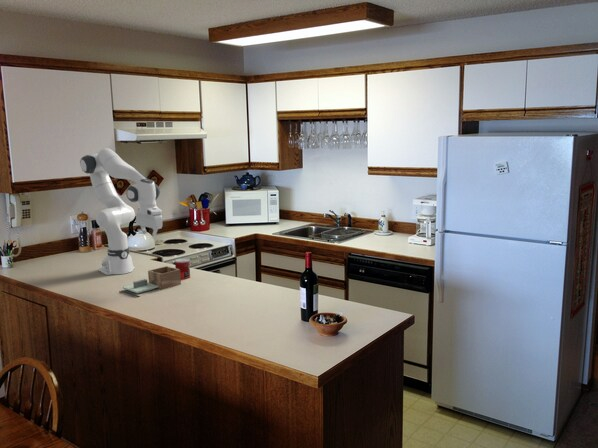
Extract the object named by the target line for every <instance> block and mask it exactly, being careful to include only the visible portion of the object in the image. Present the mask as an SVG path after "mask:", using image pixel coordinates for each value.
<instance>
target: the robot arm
mask: <svg viewBox="0 0 598 448" xmlns="http://www.w3.org/2000/svg"><path fill="white" fill-rule="evenodd" d="M79 163H80V168H81V170H82V172H84V173H85V174H89V177H90V182H91V185H92V188H93V191H94V193H95V195H96V197H97V200H98V202H99V203H101V204H102V205H105V206H106V207H107V208H104V209H102V210H100V211H98V212H97V213H96V215H95V222H96V224H97V226H99V227H100V228H101V229H103V231H104V232H105V235H106V237H107V238H106V239H107V242H108V243H107V244H108V245H107V246H108V249H106V251H107V255H106V256H105V257H104V259H103V260H102V261H101V266H102V267H99V268H98V271H99V272H101V274H104V275H106V276H108V275H109V276H111V275H125V274H129V273H131V272H133V271H134V270H135V266H134V264H133V259H132V255H130V247H129V239H128V235H127V233H126V232H124V231H122V228H121V225H126V224H128V223H130V222H132V221H134V219H135V223H136V225H138V226H140V229H141V232H142V234H143V235H146V234H148V232H147V229H146V228H149V229H152V233H151V236H152V237H155V238H156V237H157V234H158V230H160V229H162V228H163V216H162V214H163V210H162V209H161V208H159V206H157V199H158V198H159V196H160V193H161V191H160V187H159V186H158V184H156V182H155V181H154V180H152V179H149V178H148V177H146V176H145V175H144V174H143V173H142V172H141V171H139V170H138V169H137V168H135V166H132V165H130V164H129V163H127V162H126V161H125V160H124V159H122V157H120V156H119V154H118V153H117V151H114V150H113V149H111V148H109V147H105V148H102V149H100V150H99V151H97V152H95V153H90V154H86V155H84V156H82V157H81V158H80V160H79ZM111 177H112V178H114V179H121V180H122V179H123V180H129V181H132V182H135V183H134V184H131V185H129V186H128V187H127V188H126V198H127V200H129V201H130V202H131V203H139V204H138V206H139V207H138V208H137V211H136V212H135V210H134V208H133V207H132V206H130V205H128V204H127V203H125V202H124V200H123V199H122V198H121V196H119V194H118V193H117V190H116V188H115V186H114V184H113V181H112V179H111Z"/></svg>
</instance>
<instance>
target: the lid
mask: <svg viewBox="0 0 598 448" xmlns="http://www.w3.org/2000/svg"><path fill="white" fill-rule="evenodd" d="M132 283H133V284H130V285H129V284H128V285H125V286H123V287H122V289H123V290H126V291H130V292H131V293H132V292H133V293H135V294H141V293H145V292H148V291H152V290H154V289H158V288H157V287H158V285H154V284H151V283H149V281H148V279H145V278H143V279H140V280H136V281H133V282H132Z"/></svg>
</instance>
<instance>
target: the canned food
mask: <svg viewBox="0 0 598 448" xmlns="http://www.w3.org/2000/svg"><path fill="white" fill-rule="evenodd" d="M174 262H175V263H174V265H175V266H174V268H176V269H180V276H181V280H188V279H191V267H190V264H191V263H190V259H189V258H177V259H175V260H174Z"/></svg>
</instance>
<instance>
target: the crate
mask: <svg viewBox="0 0 598 448" xmlns="http://www.w3.org/2000/svg"><path fill="white" fill-rule="evenodd" d="M147 272H148V273H147V275H148V283H151V284H154V285H158V287H157V288H156V289H160V290H167V289H170V288H173V287H176V286H177V287H178V286H180V285H181V284H182V281H181V280H182V279H181V276H180V269H176V268H175V267H172V266H168V265H167V266H166V265H165V266H162V267H158V268H154V269H149V270H147Z"/></svg>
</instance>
